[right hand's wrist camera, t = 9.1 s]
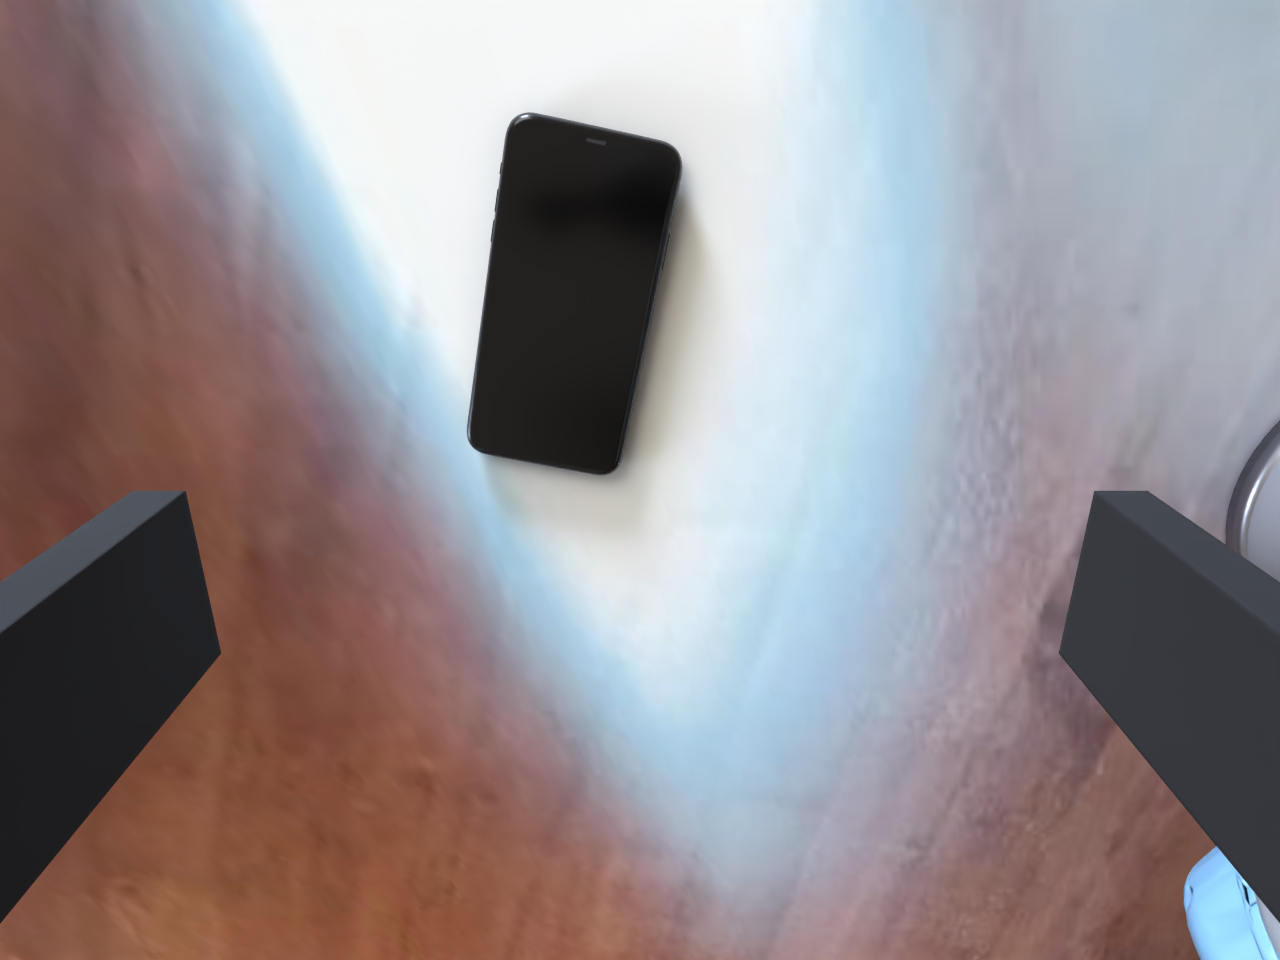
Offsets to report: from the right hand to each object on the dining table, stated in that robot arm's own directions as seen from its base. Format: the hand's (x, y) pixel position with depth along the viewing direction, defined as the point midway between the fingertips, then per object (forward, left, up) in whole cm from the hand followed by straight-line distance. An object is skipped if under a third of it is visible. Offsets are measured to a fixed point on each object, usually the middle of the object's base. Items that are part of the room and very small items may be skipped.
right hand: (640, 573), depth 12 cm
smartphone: (+4, +1, -29) cm, 29 cm away
